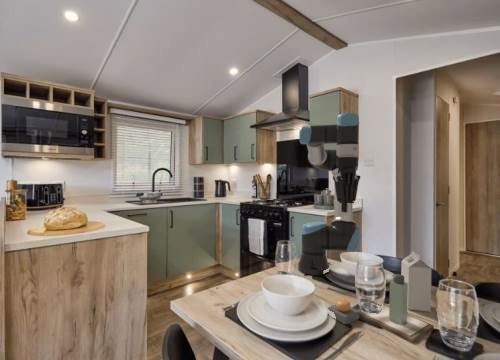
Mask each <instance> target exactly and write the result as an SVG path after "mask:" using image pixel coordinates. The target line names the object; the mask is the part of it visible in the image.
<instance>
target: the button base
mask: <svg viewBox="0 0 500 360" xmlns="http://www.w3.org/2000/svg"><path fill="white" fill-rule="evenodd" d="M327 308H328V309H329V310H330V311H332V312H334V314H335V316H336V319H337V320H338V321H340V322H342V323H344V324H347V325H349V324H351V323H353V322H355V321H358V320H359V319H360V316H359V311H358V310H359V309H355V308H354V307H352V306H350V311H348V312H342V311H339V310H337V309H336V304H333V305H331V306H327ZM337 320H336V321H337ZM338 321H337V322H338ZM340 322H339V323H340ZM342 323H341V324H342ZM344 324H343V325H344Z"/></svg>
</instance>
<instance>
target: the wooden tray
mask: <svg viewBox="0 0 500 360" xmlns="http://www.w3.org/2000/svg"><path fill="white" fill-rule="evenodd" d="M360 309H361V308H360ZM360 309H357V310H358V311H359V315H360V316H362V317H364V318H366V319H368V320H369V321H368V320H367V321H368V322H370V321H371V322H370V323H372V324H374V325H375V324H376V326H377V325H378V326H377V327H379V326H380V328H381V329H384V330H385V331H387V332H389V333H391V334H393V335H395V336H398V337H400V338H401V339H403V340H405V341H406V342H409V343H411V344H413V343H414V342H416V341H417V340H419V339H420V338H422V337H423V336H425V335H426V334H428V333H430V332H431V331H432V330H434V325H433V324H431V323H430V322H426V321H425V320H422V319H420V318H417V317H415V316H413V315H411V314H408V313H407V322H405V323H403V324H402V325H400V324H398V323H396V322H394V321H392V320H389V305H387V304H385V303H383V308H382V310H381V312H380V313H379V314H376V313H368V312H362V311H361V310H360ZM360 316H359V317H360ZM362 317H361V318H362ZM364 318H363V319H364ZM366 319H365V320H366Z"/></svg>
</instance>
